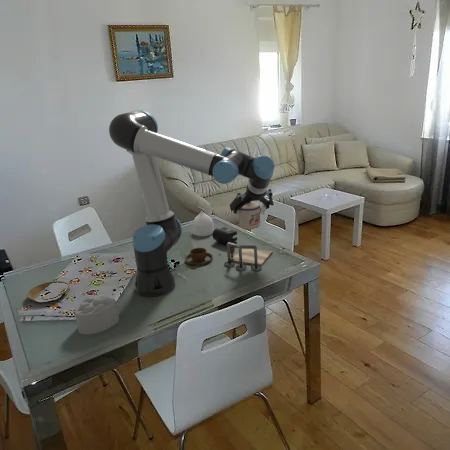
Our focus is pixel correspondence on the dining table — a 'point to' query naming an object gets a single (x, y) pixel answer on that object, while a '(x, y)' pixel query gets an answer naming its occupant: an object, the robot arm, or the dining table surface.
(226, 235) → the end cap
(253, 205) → the teacup with lid
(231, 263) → the bent rail
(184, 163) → the robot arm
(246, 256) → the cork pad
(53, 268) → the dining table surface
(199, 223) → the teardrop
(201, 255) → the place setting
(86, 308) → the lumpy-topped squat cylinder
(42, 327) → the dining table surface
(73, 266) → the dining table surface
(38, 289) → the plant saucer
